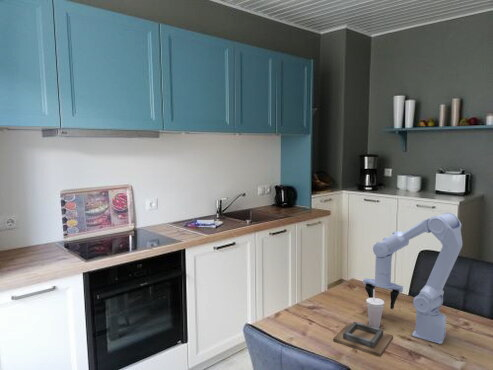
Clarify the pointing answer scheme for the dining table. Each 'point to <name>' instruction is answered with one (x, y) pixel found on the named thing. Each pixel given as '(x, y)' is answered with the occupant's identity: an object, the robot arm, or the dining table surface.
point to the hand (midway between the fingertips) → (381, 305)
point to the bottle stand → (364, 338)
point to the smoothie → (374, 310)
